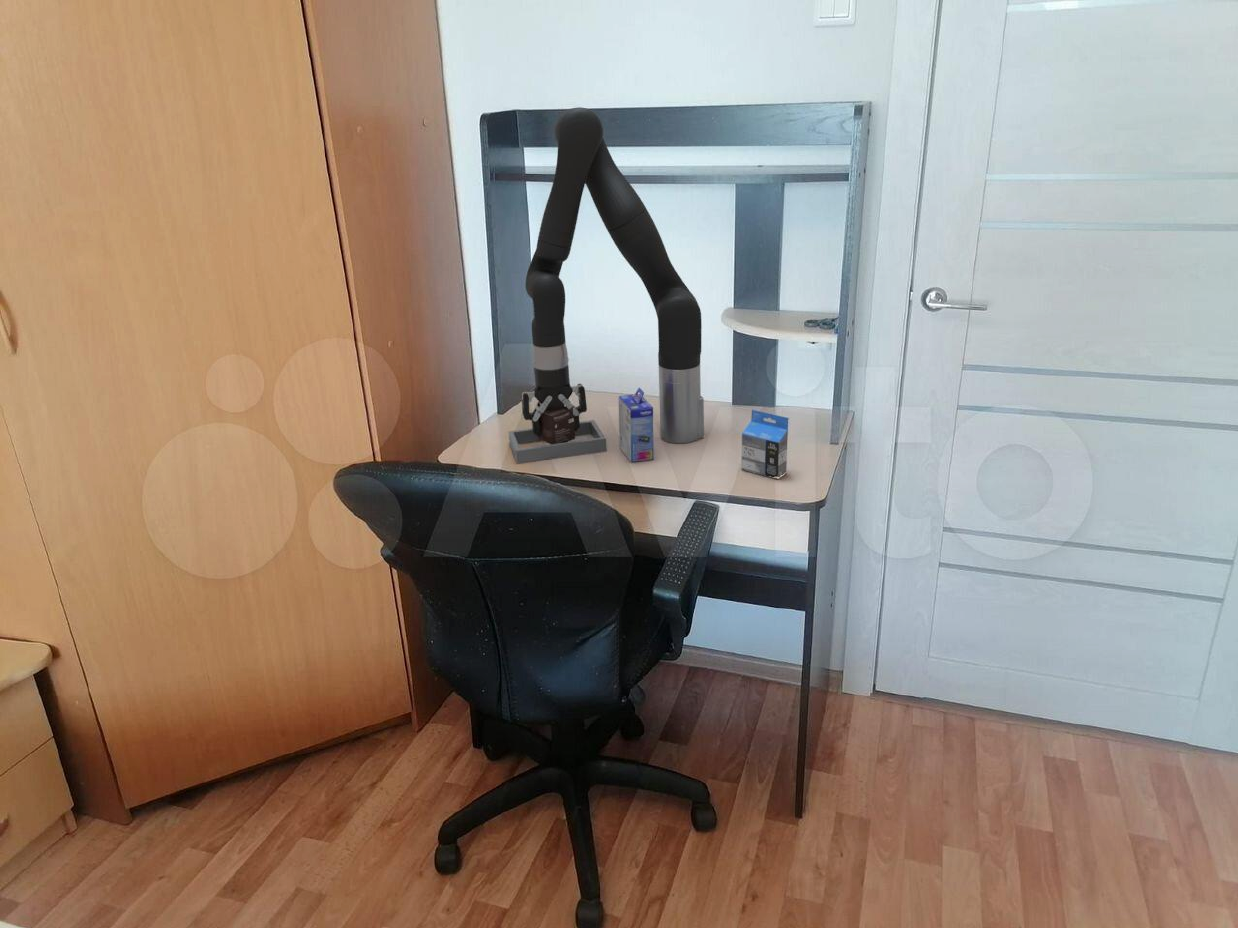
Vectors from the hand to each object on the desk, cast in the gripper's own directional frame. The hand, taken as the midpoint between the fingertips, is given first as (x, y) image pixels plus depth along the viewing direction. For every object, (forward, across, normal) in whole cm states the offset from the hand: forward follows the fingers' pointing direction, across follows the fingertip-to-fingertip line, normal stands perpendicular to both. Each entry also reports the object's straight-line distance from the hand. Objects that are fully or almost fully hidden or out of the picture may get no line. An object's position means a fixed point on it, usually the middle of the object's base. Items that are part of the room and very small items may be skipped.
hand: (556, 432), depth 203 cm
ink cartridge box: (+4, -16, +10) cm, 19 cm away
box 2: (+4, 0, 0) cm, 4 cm away
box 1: (+2, 0, 0) cm, 2 cm away
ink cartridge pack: (+4, -38, +28) cm, 47 cm away
